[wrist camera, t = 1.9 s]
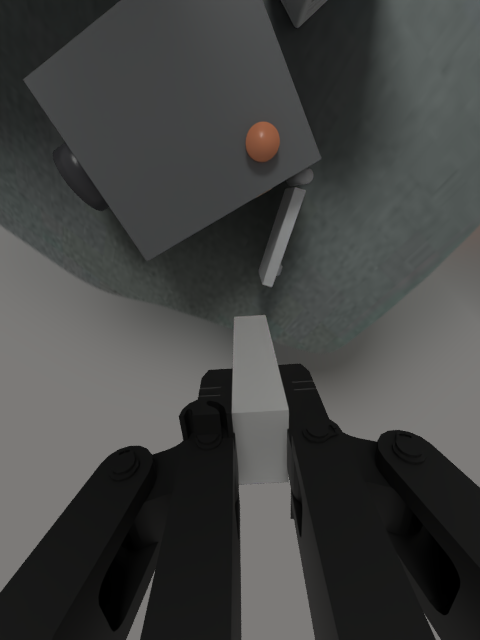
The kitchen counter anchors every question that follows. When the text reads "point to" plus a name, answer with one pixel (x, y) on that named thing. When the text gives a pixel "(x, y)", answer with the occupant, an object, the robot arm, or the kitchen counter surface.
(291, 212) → the side door
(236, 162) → the block
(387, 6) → the kitchen counter surface
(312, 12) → the ink box
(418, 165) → the kitchen counter surface
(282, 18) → the kitchen counter surface
